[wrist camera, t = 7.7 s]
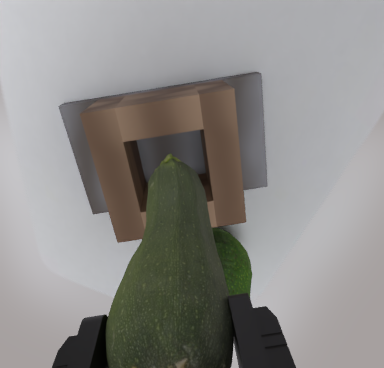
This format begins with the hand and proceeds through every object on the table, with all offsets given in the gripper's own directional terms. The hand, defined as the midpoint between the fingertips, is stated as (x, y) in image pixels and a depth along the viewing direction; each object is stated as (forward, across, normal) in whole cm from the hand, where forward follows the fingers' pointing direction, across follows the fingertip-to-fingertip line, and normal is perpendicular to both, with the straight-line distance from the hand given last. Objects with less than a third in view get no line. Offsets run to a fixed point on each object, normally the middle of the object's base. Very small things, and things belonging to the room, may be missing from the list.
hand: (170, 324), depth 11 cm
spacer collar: (+22, 0, 0) cm, 22 cm away
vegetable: (+13, 0, 0) cm, 13 cm away
